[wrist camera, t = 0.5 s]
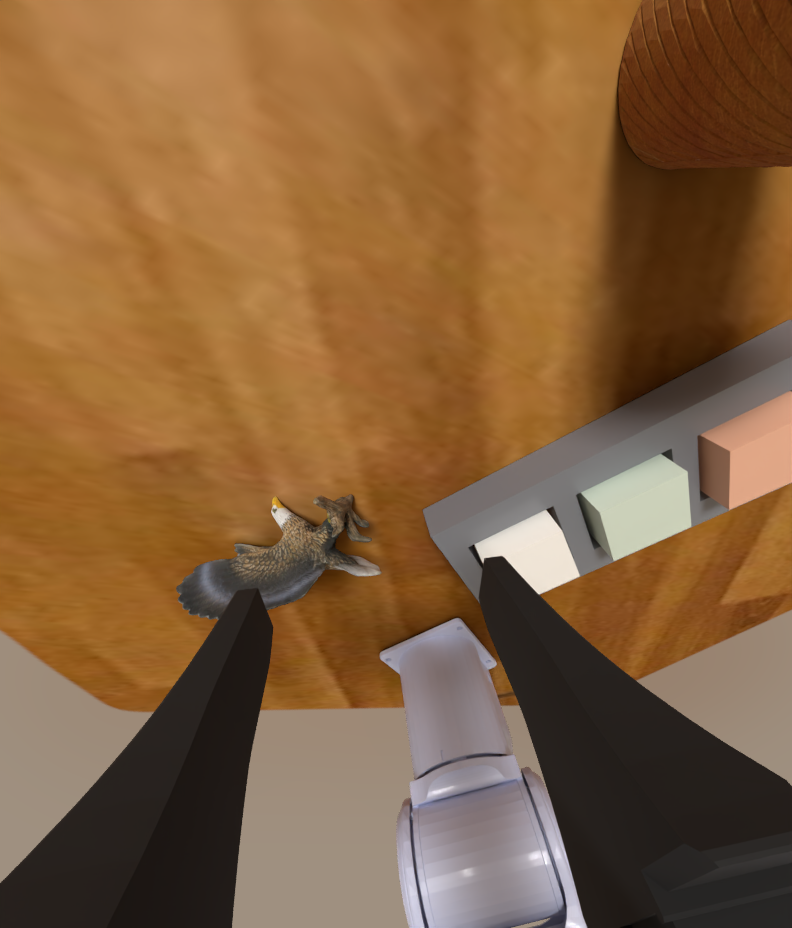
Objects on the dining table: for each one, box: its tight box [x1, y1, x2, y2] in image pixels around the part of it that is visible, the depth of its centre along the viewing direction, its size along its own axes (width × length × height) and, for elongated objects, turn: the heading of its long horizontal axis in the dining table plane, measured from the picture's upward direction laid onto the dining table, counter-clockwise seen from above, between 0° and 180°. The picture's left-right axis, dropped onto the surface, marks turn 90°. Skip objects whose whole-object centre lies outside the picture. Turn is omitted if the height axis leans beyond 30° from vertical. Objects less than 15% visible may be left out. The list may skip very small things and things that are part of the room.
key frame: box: [423, 320, 792, 603], centre depth 22 cm, size 10×23×2 cm, turn 120°
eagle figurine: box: [176, 494, 381, 620], centre depth 19 cm, size 8×7×9 cm
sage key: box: [577, 454, 691, 561], centre depth 21 cm, size 5×5×3 cm
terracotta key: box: [697, 391, 792, 510], centre depth 20 cm, size 5×5×3 cm
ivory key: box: [474, 510, 580, 594], centre depth 22 cm, size 5×5×3 cm
